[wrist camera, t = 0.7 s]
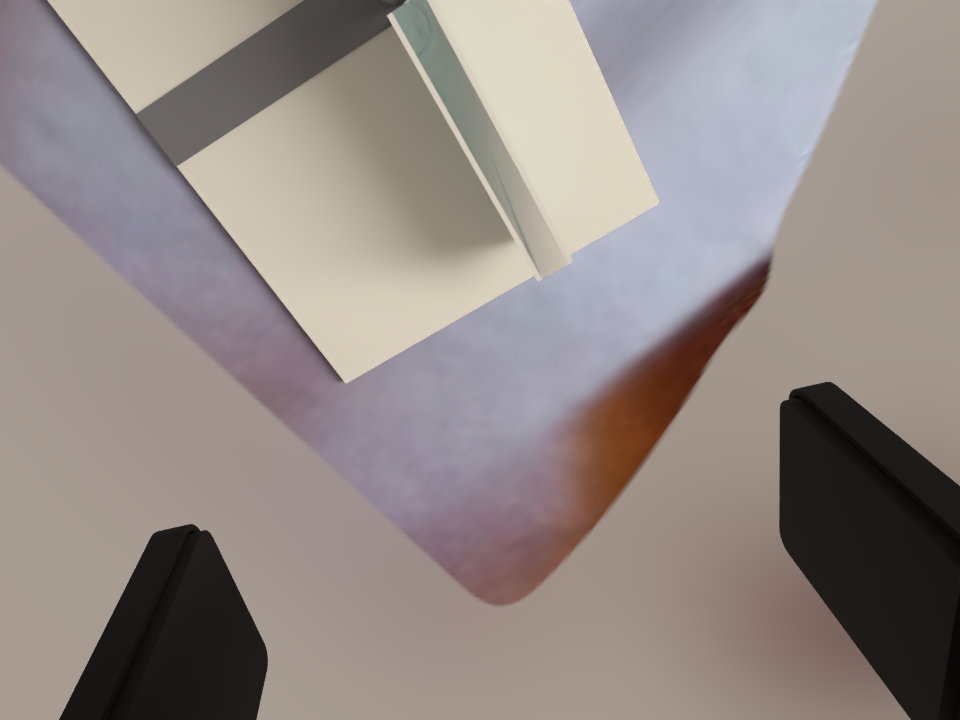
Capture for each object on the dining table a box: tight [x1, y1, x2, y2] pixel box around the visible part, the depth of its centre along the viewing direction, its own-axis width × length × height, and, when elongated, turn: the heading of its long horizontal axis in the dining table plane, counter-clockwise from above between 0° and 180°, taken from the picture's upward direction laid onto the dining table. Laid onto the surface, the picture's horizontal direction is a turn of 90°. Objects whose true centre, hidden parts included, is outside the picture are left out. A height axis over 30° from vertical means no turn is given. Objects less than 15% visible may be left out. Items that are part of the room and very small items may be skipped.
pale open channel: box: [387, 0, 573, 281], centre depth 27 cm, size 2×11×6 cm, turn 30°
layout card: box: [47, 0, 659, 383], centre depth 28 cm, size 18×29×1 cm, turn 30°
